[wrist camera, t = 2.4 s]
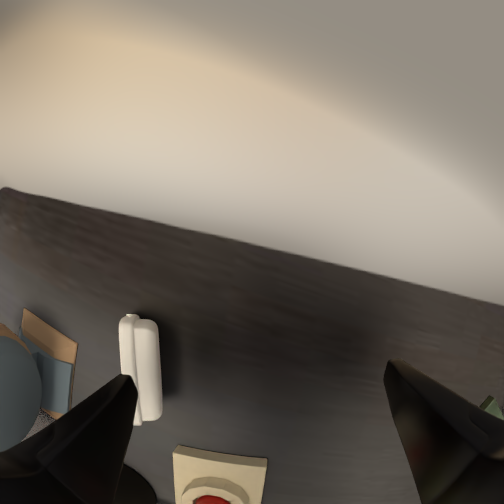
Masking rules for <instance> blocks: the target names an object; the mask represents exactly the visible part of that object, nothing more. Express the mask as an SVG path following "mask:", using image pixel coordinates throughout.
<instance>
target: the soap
mask: <svg viewBox="0 0 504 504" xmlns="http://www.w3.org/2000/svg"><path fill="white" fill-rule="evenodd" d="M126 315H127V316H125V317H124V318H122V319H121V320H120V323H119V344H120V360H121V372H122V374H127V375H130V376H131V377H132V379H133V381H134V383H135V385H136V388H137V390H138V400H137V406H136V412H135V417H134V424H133V425H141V424H142V422H143V421H154V420H157V419H158V418H160V416H161V415H162V411H163V403H162V379H161V365H160V348H159V334H158V326H157V324H156V323H155V322H154V321H152V320H149V319H139V316H138V315H136V314H126Z"/></svg>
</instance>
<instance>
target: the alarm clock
mask: <svg viewBox="0 0 504 504" xmlns="http://www.w3.org/2000/svg"><path fill="white" fill-rule="evenodd" d="M77 347H78V343H76V342H74V341H73V340H71V339H70V338H68V337H66V336H65V335H63V334H62V333H60V332H59V331H57V330H56V329H54V328H53V327H51V326H50V325H48V324H47V323H45V322H44V321H42V320H41V319H40V318H38V317H37V316H35V315H34V314H33V313H31V312H30V311H29V310H27V309H26V308H24V311H23V319H22V326H21V327H20V330H19V337H18V336H16V335H15V334H14V333H13V332H12V331H11V330H10V329H8V328H7V327H6V326H5V325H4V324H2V323H0V452H2V451H5V450H7V449H9V448H11V447H13V446H15V445H17V444H19V443H20V442H21V441H22V440H23V439H24V438H25V437H26V435H27V434H28V432H29V431H30V429H31V428H32V426H33V424H34V422H35V420H36V418H37V416H38V412H39V409H40V408H41V409H43V410H44V411H45V412H47V413H48V414H49V415H50V416H52V417H53V418H54V419H56V420H57V419H58V418H60V417H61V416H62V415H64V414H65V413H67V412H68V411H70V410H71V396H72V386H73V376H74V368H75V361H76V354H77Z"/></svg>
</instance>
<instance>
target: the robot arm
mask: <svg viewBox="0 0 504 504" xmlns="http://www.w3.org/2000/svg"><path fill="white" fill-rule="evenodd" d="M384 385H385V389H386V393H387V397H388V401H389V405H390V409H391V413H392V417H393V420H394V423H395V425H396V428H397V431H398V433H399V436H400V439H401V442H402V445H403V447H404V450H405V453H406V456H407V459H408V462H409V465H410V468H411V471H412V474H413V477H414V480H415V483H416V487H417V490H418V493H419V496H420V500H421V503H422V504H504V420H503V419H501V418H498V417H496V416H494V415H492V414H490V413H488V412H486V411H485V410H483V409H481V408H479V407H478V406H476V405H474V404H473V403H471V402H469V401H468V400H466V399H464V398H463V397H461V396H460V395H458V394H456V393H455V392H453V391H451V390H450V389H448V388H447V387H445V386H443V385H442V384H440V383H438V382H437V381H435V380H434V379H432V378H430V377H429V376H427V375H426V374H424V373H422V372H421V371H419V370H418V369H416V368H414V367H413V366H411V365H410V364H408V363H406V362H405V361H403V360H402V359H400V358H396V359H391V360H389V361H388V362H387V366H386V370H385V373H384ZM137 400H138V390H137V388H136V385H135V383H134V381H133V379H132V377H131V376H130V375H127V374H119V375H118V376H116V377H115V378H114V379H112V380H111V381H110V382H108V383H107V384H105V385H104V386H103V387H101V388H100V389H99V390H97V391H96V392H94V393H93V394H92V395H90V396H89V397H88V398H86V399H85V400H83V401H82V402H81V403H79V404H78V405H76V406H75V407H74V408H72V409H71V410H70V411H68V412H67V413H65V414H64V415H62V416H61V417H60V418H58V419H57V420H55V422H53V423H51V424H50V425H48V426H47V427H45V428H44V429H42V430H41V431H39V432H38V433H36V434H34V435H33V436H31V437H29V438H28V439H26V440H24V441H22V442H20V443H19V444H17V445H15V446H13V447H11V448H9V449H7V450H5V451H2V452H0V504H113V502H114V498H115V494H116V490H117V485H118V481H119V477H120V474H121V470H122V466H123V462H124V458H125V455H126V451H127V447H128V444H129V440H130V437H131V433H132V429H133V424H134V417H135V412H136V406H137Z"/></svg>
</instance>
